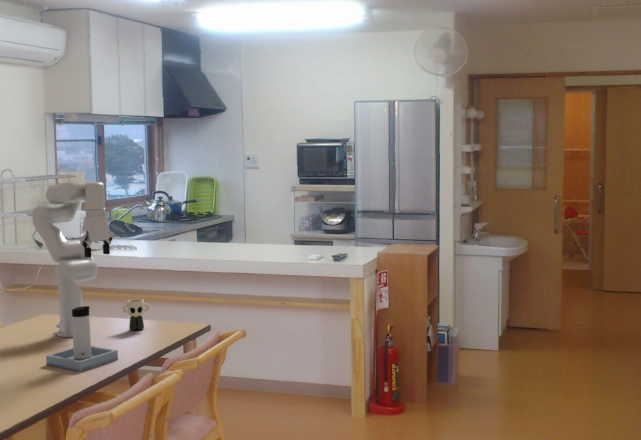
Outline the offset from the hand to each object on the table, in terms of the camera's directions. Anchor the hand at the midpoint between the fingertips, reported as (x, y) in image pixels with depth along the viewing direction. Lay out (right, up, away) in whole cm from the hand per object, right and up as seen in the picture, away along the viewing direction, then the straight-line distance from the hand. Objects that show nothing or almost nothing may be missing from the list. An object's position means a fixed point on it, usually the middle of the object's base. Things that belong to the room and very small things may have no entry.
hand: (97, 255), depth 310 cm
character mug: (+9, -34, +27) cm, 45 cm away
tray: (+1, -39, -22) cm, 45 cm away
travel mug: (+1, -38, -22) cm, 44 cm away
